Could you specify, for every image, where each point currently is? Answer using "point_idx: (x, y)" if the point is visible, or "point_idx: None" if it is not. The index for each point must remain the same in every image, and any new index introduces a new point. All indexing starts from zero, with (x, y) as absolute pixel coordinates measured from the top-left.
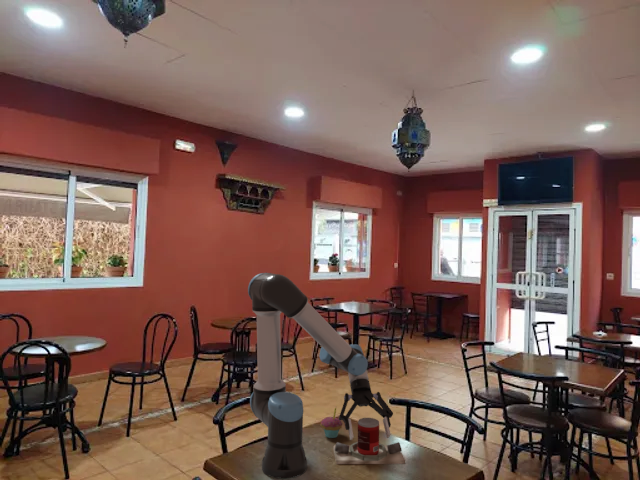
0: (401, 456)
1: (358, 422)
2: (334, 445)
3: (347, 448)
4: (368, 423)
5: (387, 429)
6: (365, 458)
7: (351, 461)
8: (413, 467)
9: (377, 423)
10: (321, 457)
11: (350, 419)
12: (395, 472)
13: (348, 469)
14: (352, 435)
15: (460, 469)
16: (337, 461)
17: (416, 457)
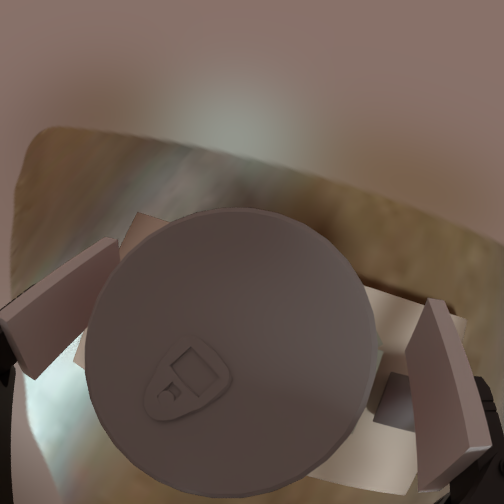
0: (127, 249)
1: (373, 380)
2: (401, 492)
3: (401, 378)
4: (238, 323)
5: (90, 257)
6: None
7: (397, 298)
8: (138, 185)
9: (145, 249)
10: None
11: (468, 437)
12: (230, 168)
13: (424, 254)
14: (437, 305)
15: (47, 149)
16: (459, 319)
17: (73, 254)
